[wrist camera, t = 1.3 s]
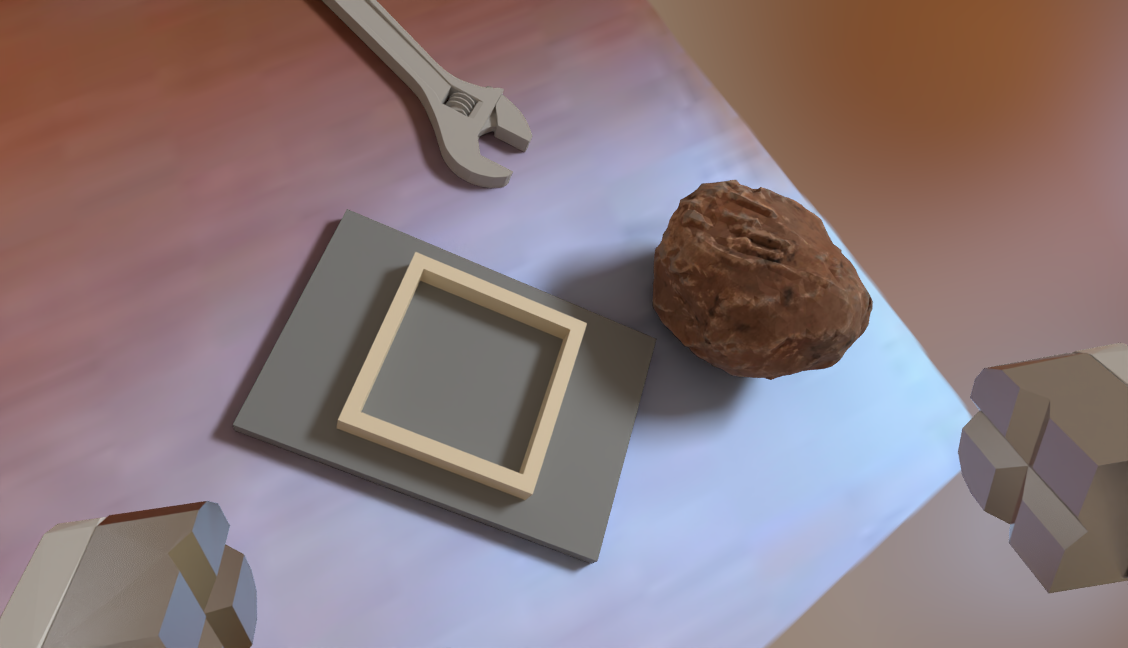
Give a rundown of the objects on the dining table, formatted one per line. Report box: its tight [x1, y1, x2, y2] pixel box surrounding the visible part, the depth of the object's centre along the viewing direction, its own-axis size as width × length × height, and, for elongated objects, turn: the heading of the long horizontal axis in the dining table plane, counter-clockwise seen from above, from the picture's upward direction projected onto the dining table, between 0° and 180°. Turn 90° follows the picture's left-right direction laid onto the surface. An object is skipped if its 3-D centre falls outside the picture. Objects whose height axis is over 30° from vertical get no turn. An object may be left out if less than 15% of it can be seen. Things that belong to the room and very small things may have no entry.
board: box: [233, 209, 656, 564], centre depth 44 cm, size 20×14×2 cm
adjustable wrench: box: [322, 0, 532, 188], centre depth 53 cm, size 25×6×2 cm, turn 42°
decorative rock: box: [653, 180, 873, 380], centre depth 48 cm, size 13×11×10 cm
